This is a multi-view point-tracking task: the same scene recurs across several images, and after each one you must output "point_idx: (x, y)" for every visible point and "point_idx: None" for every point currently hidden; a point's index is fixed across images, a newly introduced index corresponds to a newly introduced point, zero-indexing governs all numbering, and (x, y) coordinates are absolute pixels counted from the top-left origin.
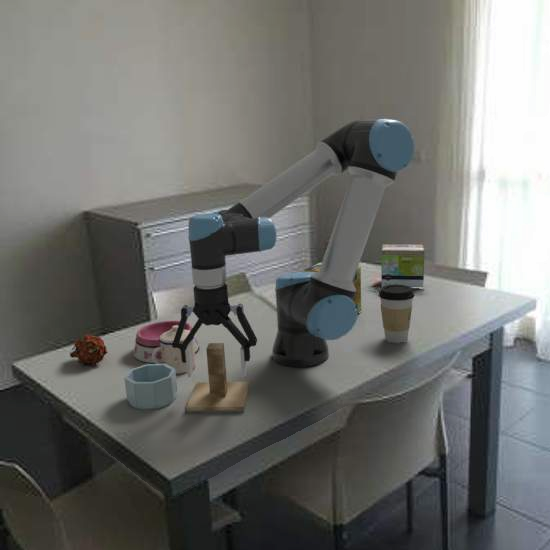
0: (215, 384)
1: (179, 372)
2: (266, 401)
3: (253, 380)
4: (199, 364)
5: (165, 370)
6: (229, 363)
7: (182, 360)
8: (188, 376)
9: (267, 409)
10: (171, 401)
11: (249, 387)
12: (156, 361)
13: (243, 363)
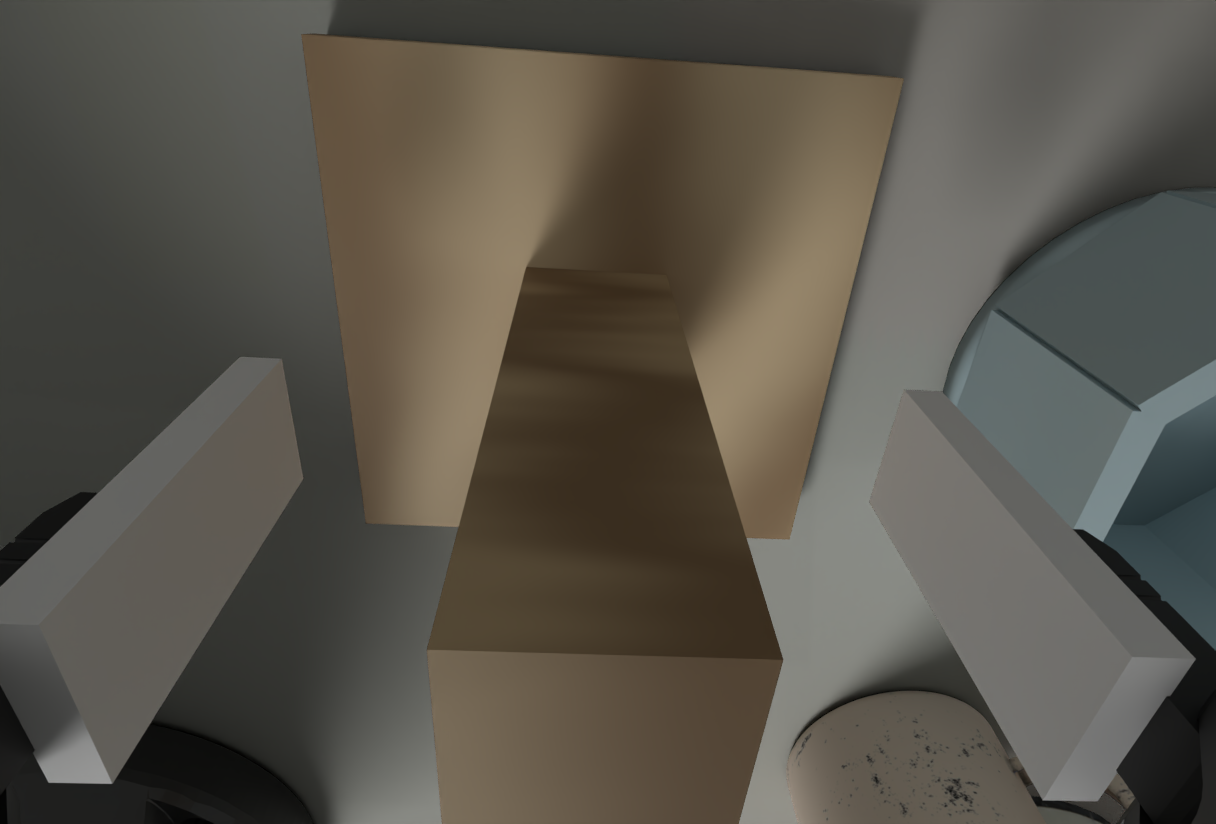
0: (612, 322)
1: (895, 697)
2: (170, 246)
3: (373, 582)
4: (761, 779)
5: None
6: None
7: (1109, 551)
8: (935, 395)
9: (106, 78)
10: (997, 298)
11: None
12: None
13: (158, 447)
